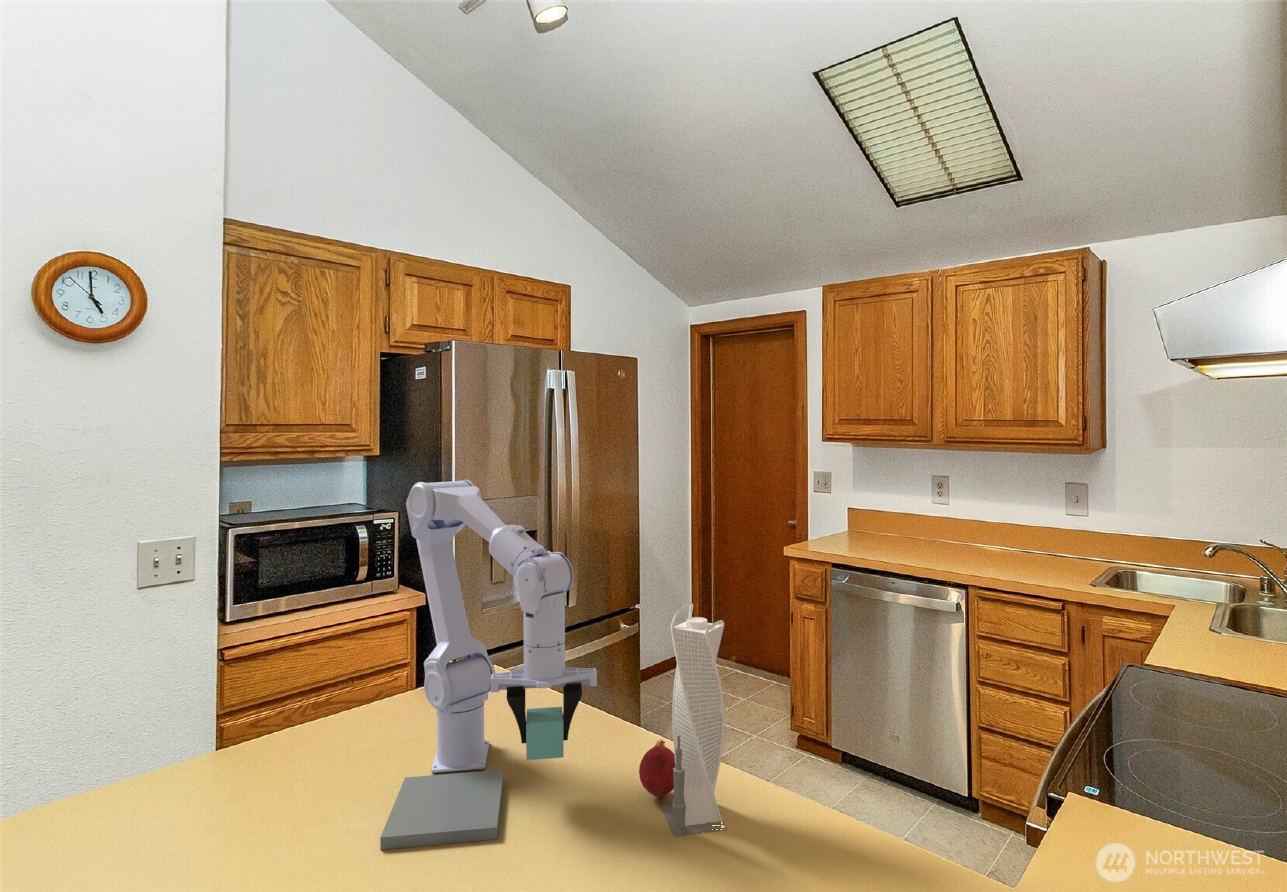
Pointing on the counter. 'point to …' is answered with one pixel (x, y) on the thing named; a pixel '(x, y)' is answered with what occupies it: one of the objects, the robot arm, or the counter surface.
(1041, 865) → the counter surface
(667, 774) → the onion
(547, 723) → the cube
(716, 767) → the skyscraper
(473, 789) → the cutting board
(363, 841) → the counter surface
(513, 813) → the counter surface
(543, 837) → the counter surface
